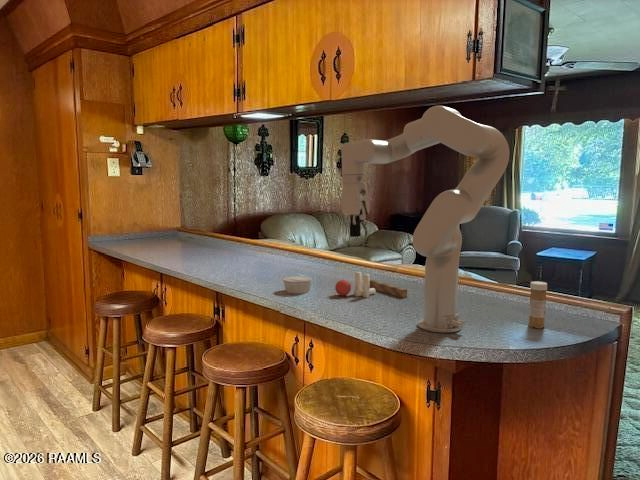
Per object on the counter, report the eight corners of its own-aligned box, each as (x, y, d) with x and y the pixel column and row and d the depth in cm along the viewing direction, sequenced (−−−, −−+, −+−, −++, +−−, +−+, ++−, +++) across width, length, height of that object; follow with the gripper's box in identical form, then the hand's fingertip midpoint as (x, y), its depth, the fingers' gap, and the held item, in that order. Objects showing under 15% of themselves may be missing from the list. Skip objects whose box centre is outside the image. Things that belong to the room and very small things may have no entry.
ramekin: (282, 294, 185) (282, 281, 184) (284, 288, 196) (284, 275, 195) (311, 294, 185) (311, 281, 184) (312, 288, 196) (312, 275, 195)
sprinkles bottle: (532, 323, 148) (534, 280, 146) (547, 326, 145) (550, 282, 143) (525, 326, 145) (527, 282, 143) (540, 329, 142) (543, 284, 140)
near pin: (370, 297, 181) (370, 274, 180) (365, 297, 180) (365, 275, 179) (366, 295, 183) (367, 273, 182) (361, 296, 182) (361, 274, 181)
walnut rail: (406, 297, 181) (407, 289, 181) (402, 297, 180) (403, 290, 180) (370, 286, 200) (370, 279, 199) (366, 286, 199) (366, 279, 198)
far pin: (362, 294, 185) (362, 272, 184) (357, 295, 184) (357, 273, 183) (358, 293, 187) (358, 271, 186) (353, 293, 186) (353, 272, 185)
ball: (346, 274, 184) (340, 281, 179) (356, 286, 184) (350, 293, 179) (335, 281, 187) (329, 289, 182) (345, 293, 187) (339, 301, 182)
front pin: (357, 297, 181) (375, 294, 186) (357, 291, 181) (375, 288, 185) (353, 295, 183) (371, 293, 188) (354, 289, 183) (372, 287, 187)
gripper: (377, 179, 154) (378, 236, 156) (350, 181, 167) (351, 234, 169) (357, 179, 150) (359, 238, 152) (331, 181, 163) (333, 236, 165)
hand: (355, 236), depth 160 cm, fingers closed
